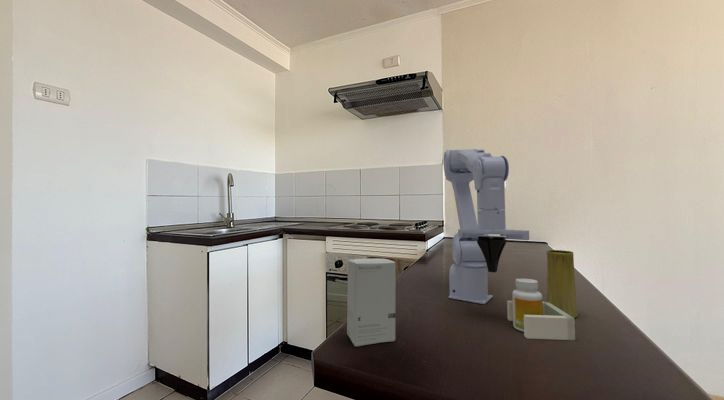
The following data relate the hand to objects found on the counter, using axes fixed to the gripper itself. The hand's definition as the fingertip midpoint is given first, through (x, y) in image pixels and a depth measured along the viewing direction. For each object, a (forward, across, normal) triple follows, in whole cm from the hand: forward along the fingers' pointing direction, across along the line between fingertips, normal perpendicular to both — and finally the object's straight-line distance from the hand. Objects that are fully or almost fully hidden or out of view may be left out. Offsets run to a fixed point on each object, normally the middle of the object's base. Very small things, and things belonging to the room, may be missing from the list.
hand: (492, 271), depth 66 cm
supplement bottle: (+11, +7, -2) cm, 13 cm away
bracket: (+10, +9, 0) cm, 14 cm away
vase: (+10, +12, +12) cm, 20 cm away
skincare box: (+11, -16, -24) cm, 31 cm away
